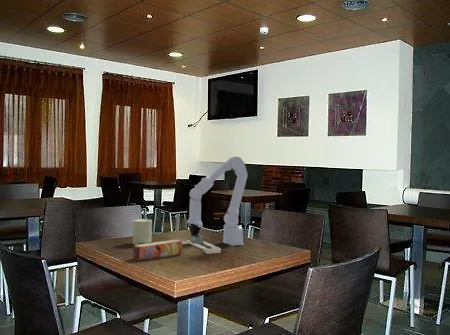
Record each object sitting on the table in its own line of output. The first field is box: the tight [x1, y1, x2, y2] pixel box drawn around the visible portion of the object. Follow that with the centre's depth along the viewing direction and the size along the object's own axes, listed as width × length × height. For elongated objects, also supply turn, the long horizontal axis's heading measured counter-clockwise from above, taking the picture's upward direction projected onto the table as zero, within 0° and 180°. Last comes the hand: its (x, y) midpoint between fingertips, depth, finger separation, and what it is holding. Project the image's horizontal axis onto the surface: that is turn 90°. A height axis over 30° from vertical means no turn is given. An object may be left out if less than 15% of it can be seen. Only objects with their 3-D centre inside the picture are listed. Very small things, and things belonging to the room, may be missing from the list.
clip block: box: [191, 233, 205, 246], centre depth 208 cm, size 4×5×5 cm
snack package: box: [132, 238, 183, 261], centre depth 182 cm, size 21×7×7 cm, turn 128°
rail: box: [186, 239, 222, 255], centre depth 203 cm, size 7×24×2 cm, turn 27°
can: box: [132, 218, 153, 246], centre depth 212 cm, size 9×9×12 cm
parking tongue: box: [180, 240, 189, 245], centre depth 211 cm, size 7×7×1 cm
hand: (194, 239), depth 212 cm, fingers closed
